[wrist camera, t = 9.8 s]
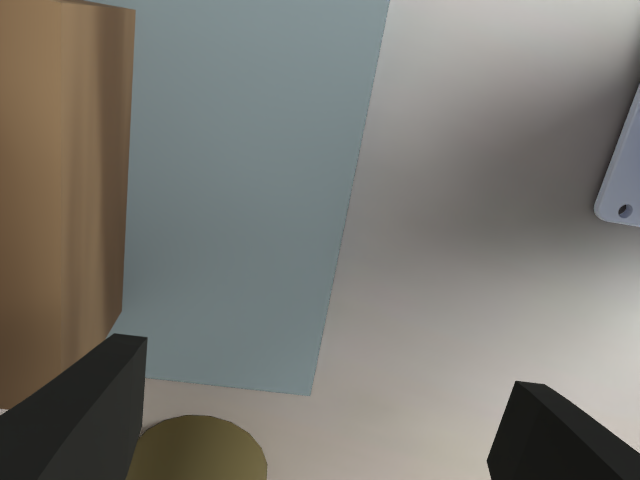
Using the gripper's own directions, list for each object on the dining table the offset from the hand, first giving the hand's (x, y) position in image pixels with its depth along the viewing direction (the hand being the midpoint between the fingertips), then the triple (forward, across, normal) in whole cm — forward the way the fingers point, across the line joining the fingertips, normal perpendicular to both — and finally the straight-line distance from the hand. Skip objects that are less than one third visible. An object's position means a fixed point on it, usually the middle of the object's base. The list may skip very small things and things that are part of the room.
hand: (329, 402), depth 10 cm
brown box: (+9, +8, -1) cm, 12 cm away
